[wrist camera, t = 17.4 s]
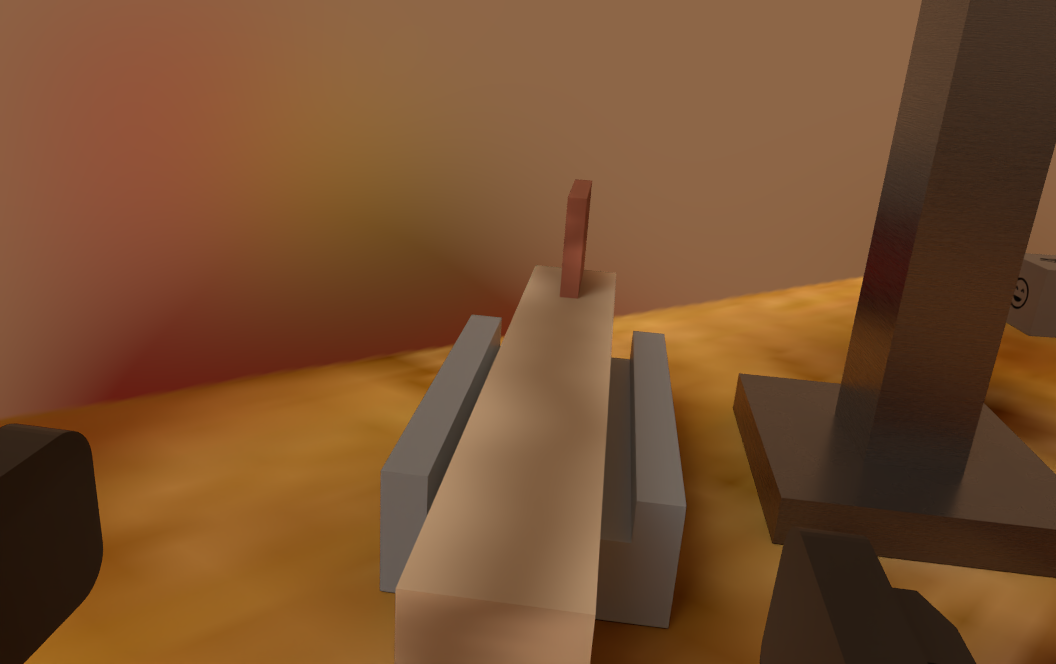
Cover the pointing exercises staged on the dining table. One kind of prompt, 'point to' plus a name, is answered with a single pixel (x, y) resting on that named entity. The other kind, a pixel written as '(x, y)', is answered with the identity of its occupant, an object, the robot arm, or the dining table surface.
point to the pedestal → (931, 319)
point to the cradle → (629, 472)
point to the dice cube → (1035, 297)
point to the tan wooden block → (523, 486)
